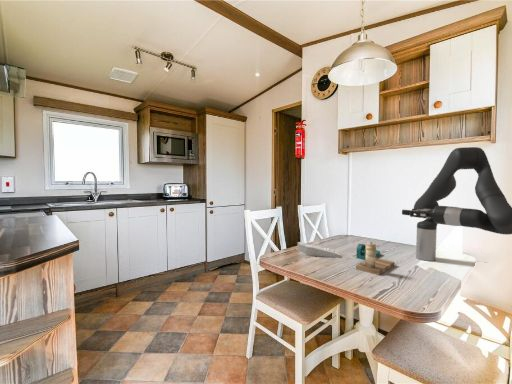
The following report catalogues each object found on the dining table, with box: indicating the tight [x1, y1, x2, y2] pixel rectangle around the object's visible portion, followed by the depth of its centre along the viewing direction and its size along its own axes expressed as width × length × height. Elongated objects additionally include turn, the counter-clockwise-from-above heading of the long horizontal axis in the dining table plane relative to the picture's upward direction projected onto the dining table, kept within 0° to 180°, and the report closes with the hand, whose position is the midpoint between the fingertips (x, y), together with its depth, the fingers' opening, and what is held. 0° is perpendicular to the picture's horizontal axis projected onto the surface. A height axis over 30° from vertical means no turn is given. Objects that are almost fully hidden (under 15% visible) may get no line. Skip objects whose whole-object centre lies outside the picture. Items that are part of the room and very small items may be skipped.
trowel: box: [296, 241, 342, 258], centre depth 152 cm, size 28×16×5 cm, turn 56°
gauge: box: [364, 241, 377, 268], centre depth 123 cm, size 5×5×12 cm
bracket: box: [355, 243, 381, 261], centre depth 147 cm, size 18×7×8 cm, turn 131°
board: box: [355, 257, 395, 276], centre depth 128 cm, size 20×11×2 cm, turn 133°
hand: (407, 211), depth 115 cm, fingers open, 8 cm apart
